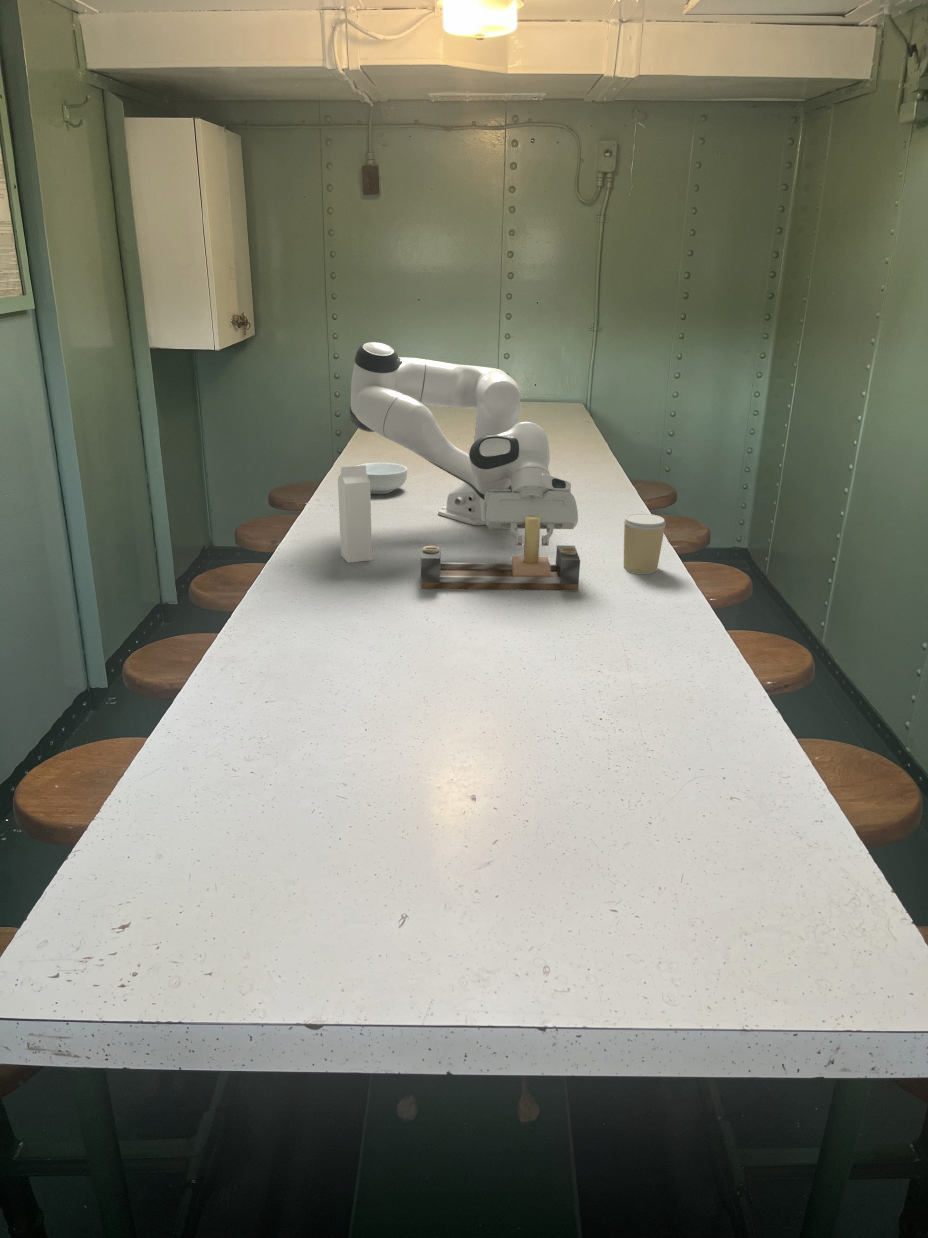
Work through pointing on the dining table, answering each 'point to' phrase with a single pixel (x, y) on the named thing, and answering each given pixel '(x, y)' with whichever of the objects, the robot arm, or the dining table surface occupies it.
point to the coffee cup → (642, 542)
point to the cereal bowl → (385, 477)
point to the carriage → (531, 553)
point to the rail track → (497, 573)
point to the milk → (355, 514)
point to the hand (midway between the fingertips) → (532, 544)
